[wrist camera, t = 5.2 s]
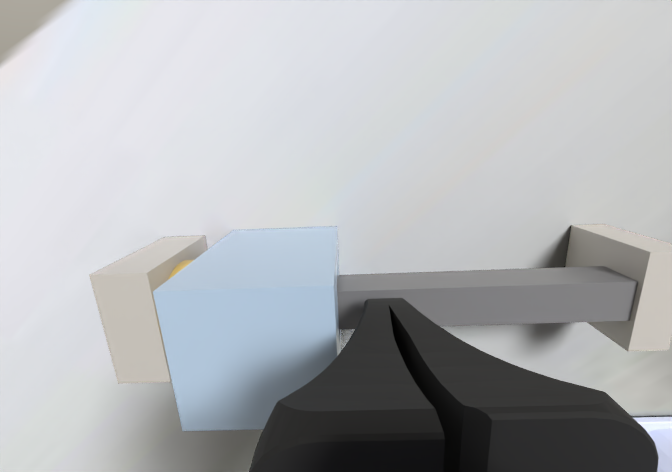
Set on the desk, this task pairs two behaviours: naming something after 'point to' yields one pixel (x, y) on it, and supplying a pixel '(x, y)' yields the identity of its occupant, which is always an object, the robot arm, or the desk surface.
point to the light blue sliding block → (250, 324)
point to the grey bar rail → (427, 295)
